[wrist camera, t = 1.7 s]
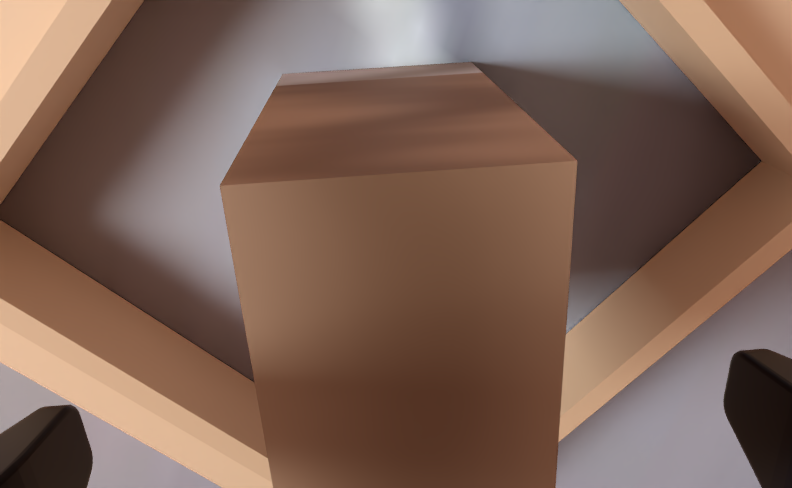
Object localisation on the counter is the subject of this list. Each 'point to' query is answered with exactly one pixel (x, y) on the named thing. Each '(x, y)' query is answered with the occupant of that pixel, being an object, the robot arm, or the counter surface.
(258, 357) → the walnut box
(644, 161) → the counter surface
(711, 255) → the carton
